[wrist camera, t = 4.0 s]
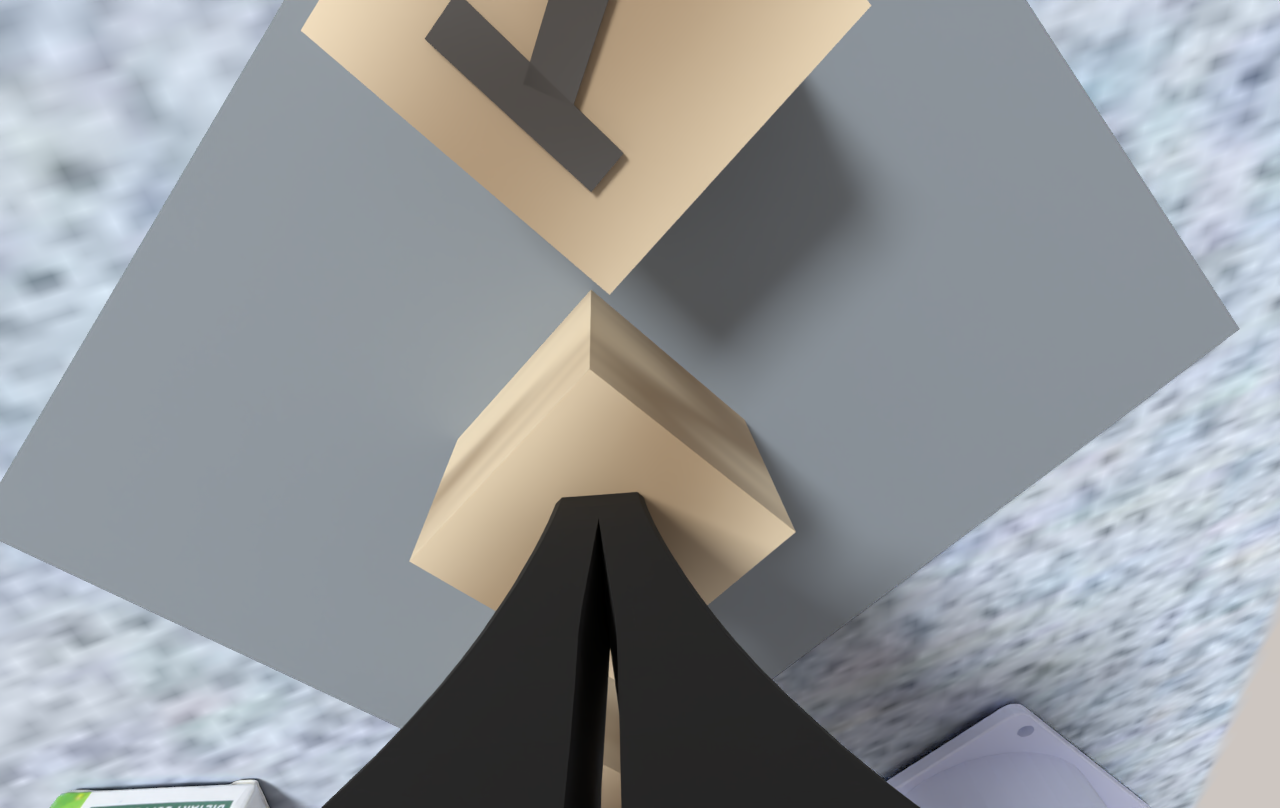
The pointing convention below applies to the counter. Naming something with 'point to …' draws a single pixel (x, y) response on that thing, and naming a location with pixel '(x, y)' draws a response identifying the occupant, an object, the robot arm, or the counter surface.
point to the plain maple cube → (602, 463)
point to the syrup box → (169, 797)
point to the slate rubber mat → (647, 297)
